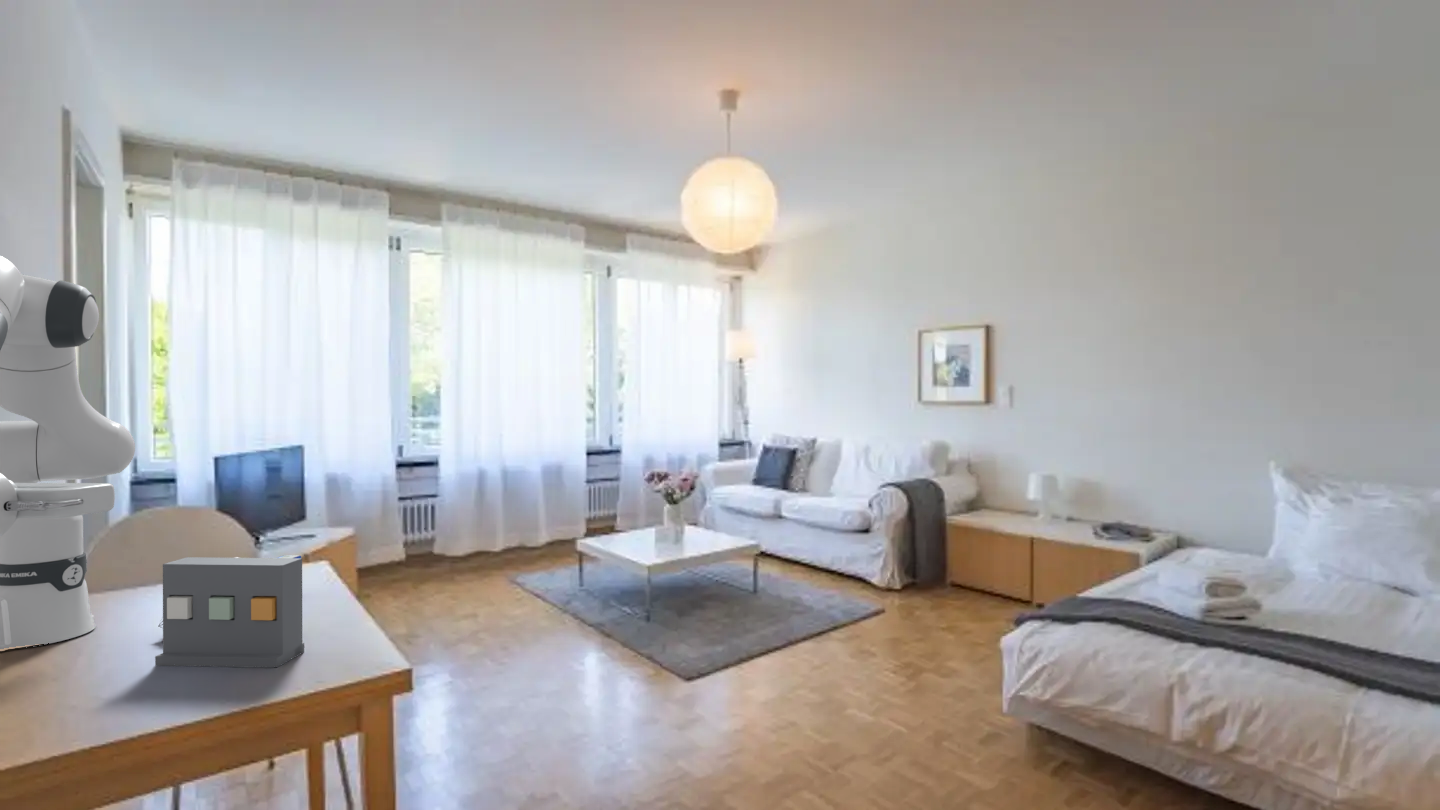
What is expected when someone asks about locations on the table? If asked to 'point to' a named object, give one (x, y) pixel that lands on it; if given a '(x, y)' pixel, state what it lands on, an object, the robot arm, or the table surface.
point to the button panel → (240, 635)
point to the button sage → (221, 607)
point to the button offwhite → (180, 607)
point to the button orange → (264, 608)
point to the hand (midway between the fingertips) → (79, 491)
